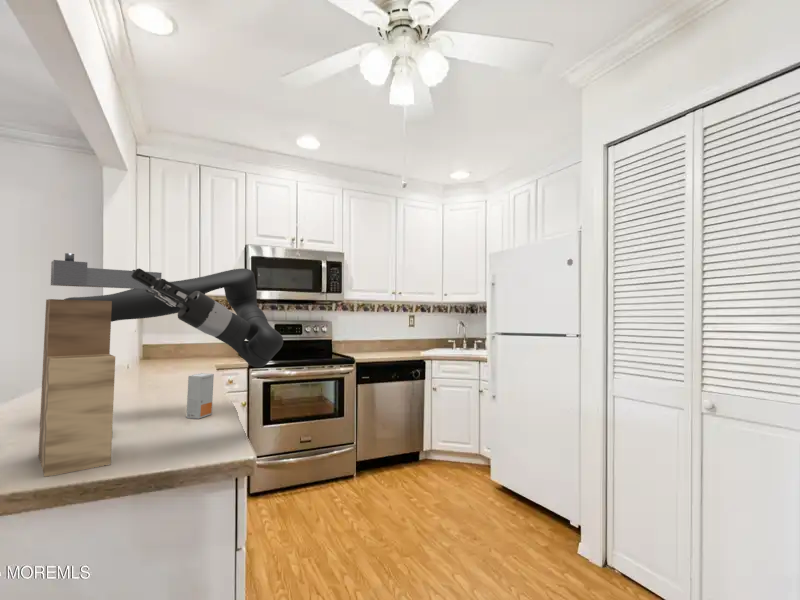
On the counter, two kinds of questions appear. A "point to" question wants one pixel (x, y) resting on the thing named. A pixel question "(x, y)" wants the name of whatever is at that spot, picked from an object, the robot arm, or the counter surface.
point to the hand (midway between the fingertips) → (132, 272)
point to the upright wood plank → (76, 386)
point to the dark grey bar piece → (92, 275)
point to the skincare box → (200, 395)
